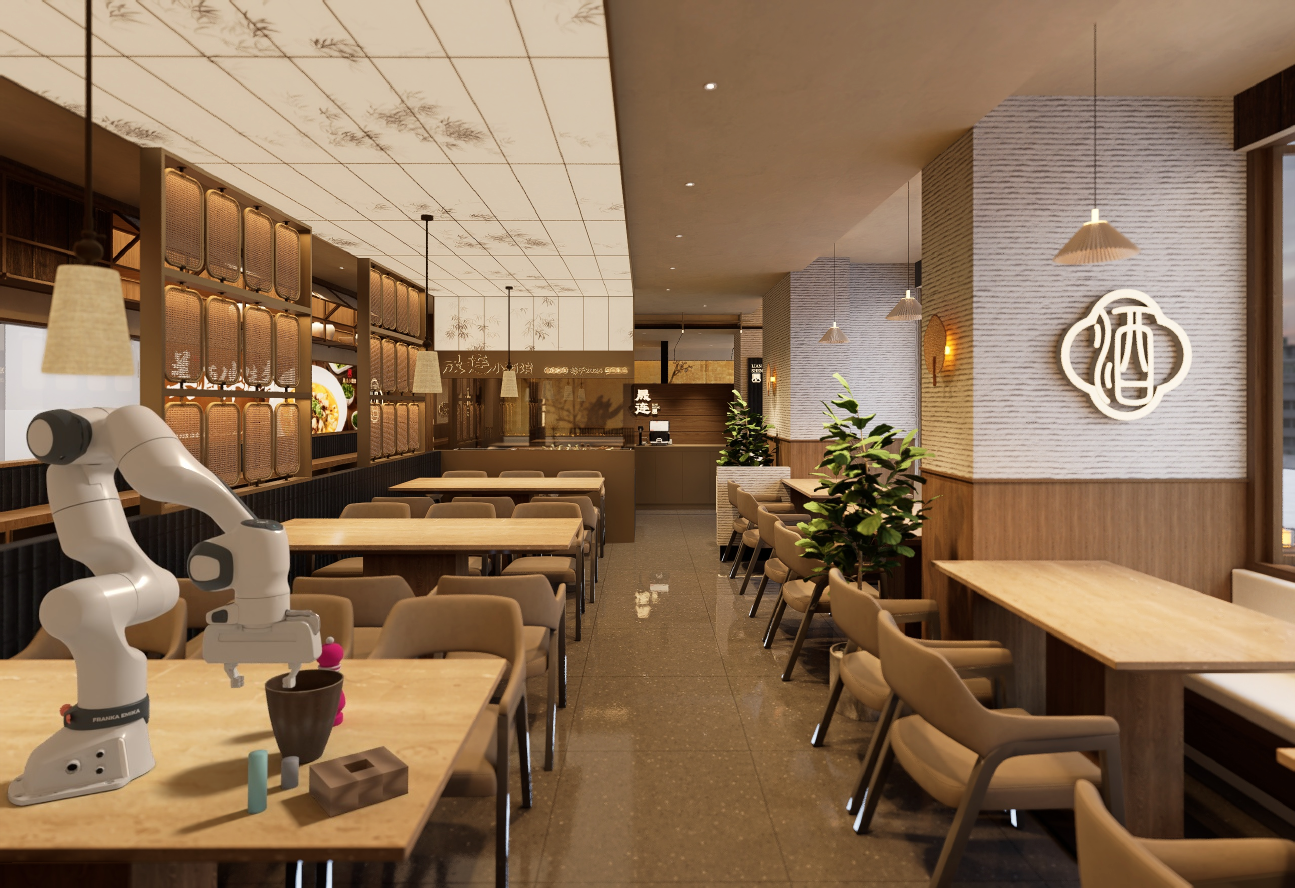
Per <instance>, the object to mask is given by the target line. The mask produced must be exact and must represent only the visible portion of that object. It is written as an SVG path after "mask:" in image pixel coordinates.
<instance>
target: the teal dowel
mask: <svg viewBox="0 0 1295 888" xmlns="http://www.w3.org/2000/svg"><path fill="white" fill-rule="evenodd" d="M247 770H248V771H247V813H248V814H253V815H254V814H260V813H263V812H265V811H266V810H267V808H268V750H267V749H256V750H255V749H254V750H252V751H250V752H249V753H248V768H247Z"/></svg>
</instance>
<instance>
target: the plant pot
mask: <svg viewBox="0 0 1295 888" xmlns="http://www.w3.org/2000/svg"><path fill="white" fill-rule="evenodd" d="M290 672H291V671H289V672H284V673H281V674H278V675H276V676H273V677H271V678H270V679H268V680H267V681H265V683H264V690H265V697H266V698H265V699H266V705H267V711H268V716H269V722H270V725H271V728H272V732H273V735H274V738H275V742H276V744H277V747H278V750H279V752H280V755H281V757H282V759H284V758H286V757H290V756H296V757H299V764H302V765H303V764H306V763H307V764H308V763H310V762H313V761H317V760H319V758H322V755H323V754H324V751H325V749H326V746H327V745H328V741H329V738H330V736H331V733H332V730H333V728H334V726H333V724H334V721H335V718H336V714H337V710H338V706H339V702H340V697H341V692H342V690H343V687H344V681H345V680H344V679H345V675H344V674H343V673H342V672H340V671H339V672H338V671H334V670H327V669H318V668H311V669H300V670H299V672H298V673H297V675H296V676H295V686H294V687H292V688H283V678H285V677H286V676H288V675H289V674H290Z"/></svg>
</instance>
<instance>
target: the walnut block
mask: <svg viewBox="0 0 1295 888" xmlns="http://www.w3.org/2000/svg"><path fill="white" fill-rule="evenodd" d="M308 768H309V769H308V771H309V772H308V775H309V777H308V793H309V794H310V795H311V796H312V797H313V799H314V800H315V801H316V802H317V803H318V805H320V807H321V808H322V810H324V811H325V812H326V814H327V815H328V816H329V817H330V818H332V817H336V816H339V815H343V814H345V813H348V812H351V811H354V810H358V809H361V808H364V807H369V806H371V805H374V804H378V803H380V802H381V803H382V802H383V801H387V800H390V799H393V798H397V797H400V796H403V795H406V794H408V793H409V765H407V763H405V762H404V761H403V760H401V759H400V758H399V757H398V756H397V755H395V754H394V753H393V752H392V751H390V750H389V749H388V748H387V747H385V745H382V746H379V747H375V748H370V749H368V750H363V751H359V752H355V753H351V754H348V755H344V756H340V757H337V758H333V759H328V760H324V761H321V762H318V763H316V762H315V763H314V764H310V765H309V766H308Z"/></svg>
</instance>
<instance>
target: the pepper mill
mask: <svg viewBox="0 0 1295 888" xmlns="http://www.w3.org/2000/svg"><path fill="white" fill-rule="evenodd" d="M321 645H322V654H321V655H320V657H319V658H318V659H317V660H315V661H316V663H318V665H317V669H327V670H334V671H338V672H340V671H341V670H342V664H341V663H340V662H341V661H342V659H343V658H344V656H345V655H344V654H345V653H344V648H343V647H342V646H341V645H340V644H339V643H336V642H335V638H334V637H332V636H327V638H326V639H325V643H324V644H321ZM345 707H346V696H345V693H344V691H343V689H342V692H341V697H340V702H339V706H338V710H337V714H336V718H335V721H334V724H333V727H337V726H338V725H340V724H342V723H343V722H344V713H343V712H342V711H343V710H344V709H345Z"/></svg>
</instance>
